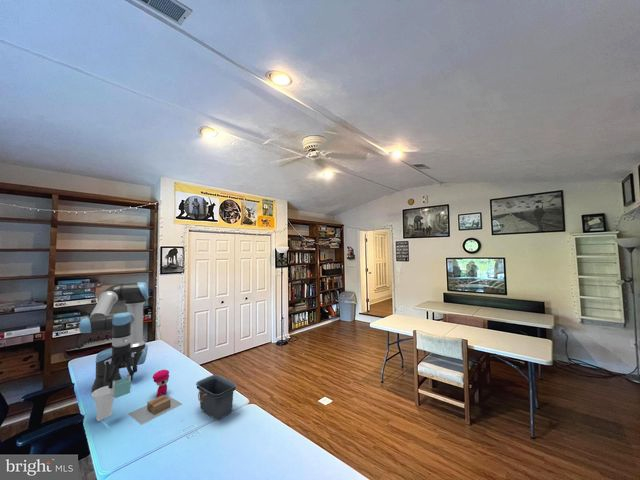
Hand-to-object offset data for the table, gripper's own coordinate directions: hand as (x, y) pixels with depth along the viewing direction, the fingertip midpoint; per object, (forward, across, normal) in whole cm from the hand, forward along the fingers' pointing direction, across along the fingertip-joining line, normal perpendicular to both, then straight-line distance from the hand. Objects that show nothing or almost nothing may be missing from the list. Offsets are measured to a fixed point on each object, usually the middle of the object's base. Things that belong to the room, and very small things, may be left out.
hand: (120, 391), depth 130 cm
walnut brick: (+14, +15, -7) cm, 21 cm away
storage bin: (+15, +30, -34) cm, 48 cm away
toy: (+15, +22, +6) cm, 27 cm away
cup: (+15, -3, +11) cm, 19 cm away
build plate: (+15, +14, -6) cm, 21 cm away
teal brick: (+1, 0, 0) cm, 1 cm away
